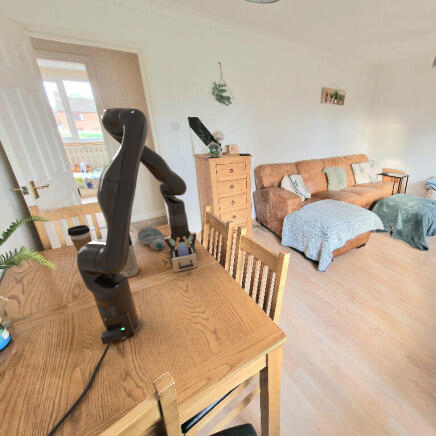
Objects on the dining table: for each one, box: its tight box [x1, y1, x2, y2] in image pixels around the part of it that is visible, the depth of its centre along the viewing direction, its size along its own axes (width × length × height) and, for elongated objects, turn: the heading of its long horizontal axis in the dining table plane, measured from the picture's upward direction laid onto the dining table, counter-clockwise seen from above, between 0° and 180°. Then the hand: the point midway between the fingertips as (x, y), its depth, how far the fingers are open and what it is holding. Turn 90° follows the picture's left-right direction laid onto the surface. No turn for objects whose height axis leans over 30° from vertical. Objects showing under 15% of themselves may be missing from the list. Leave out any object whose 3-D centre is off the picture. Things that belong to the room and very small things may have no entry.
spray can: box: [120, 235, 140, 278], centre depth 106 cm, size 7×7×20 cm
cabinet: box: [168, 235, 197, 266], centre depth 124 cm, size 14×12×9 cm
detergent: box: [137, 226, 166, 251], centre depth 134 cm, size 13×7×25 cm
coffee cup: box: [67, 224, 93, 253], centre depth 121 cm, size 8×8×15 cm
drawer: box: [172, 247, 199, 273], centre depth 115 cm, size 17×10×7 cm, turn 29°
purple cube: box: [178, 245, 189, 257], centre depth 114 cm, size 4×4×4 cm
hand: (183, 254), depth 115 cm, fingers closed on purple cube, 4 cm apart
